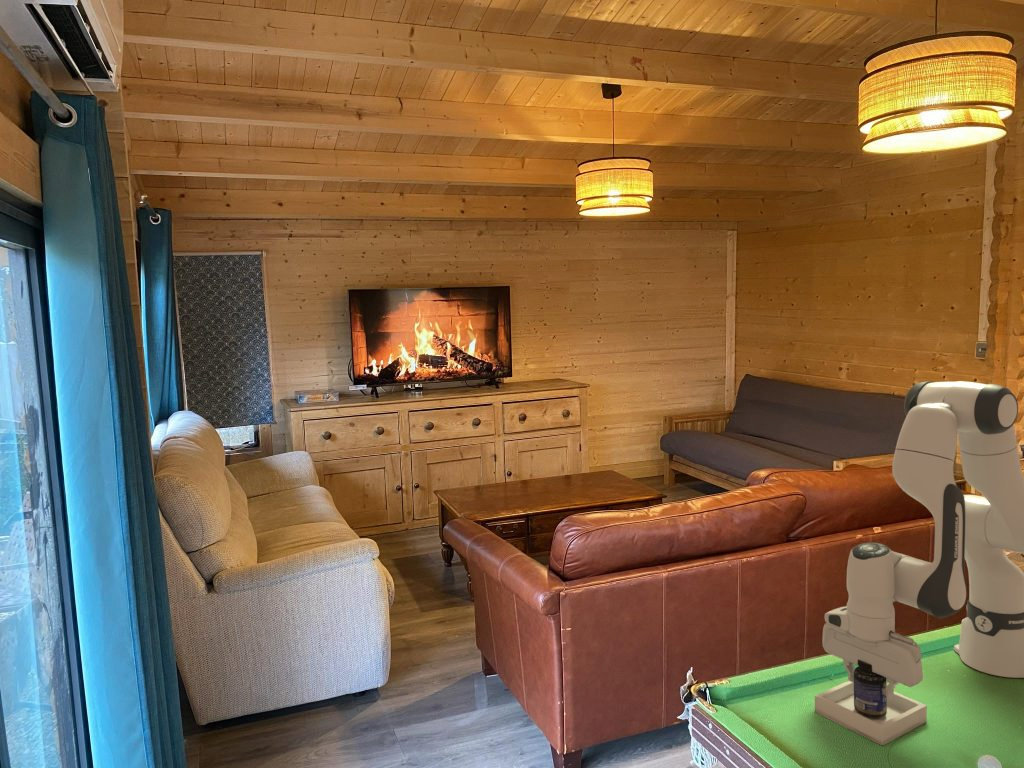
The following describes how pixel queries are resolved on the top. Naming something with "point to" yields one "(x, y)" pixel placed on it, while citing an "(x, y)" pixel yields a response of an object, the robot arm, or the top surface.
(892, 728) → the tray
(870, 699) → the pill bottle
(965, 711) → the top surface
